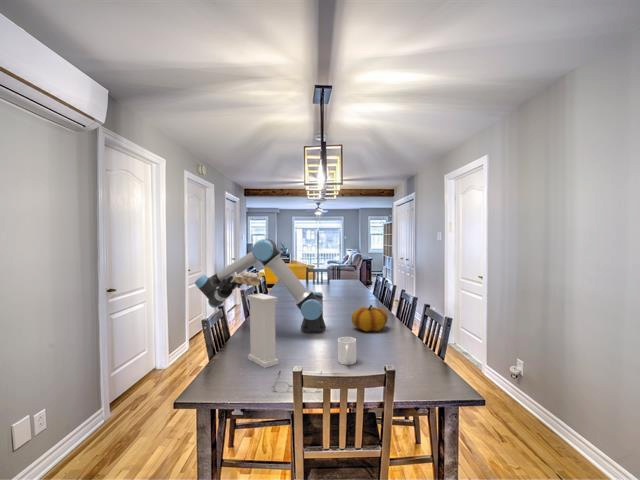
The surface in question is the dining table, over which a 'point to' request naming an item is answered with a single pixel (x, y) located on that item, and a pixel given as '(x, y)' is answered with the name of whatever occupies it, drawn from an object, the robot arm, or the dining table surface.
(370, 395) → the dining table surface
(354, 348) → the cup
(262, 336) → the pedestal
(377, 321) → the decorative pumpkin
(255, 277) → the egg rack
